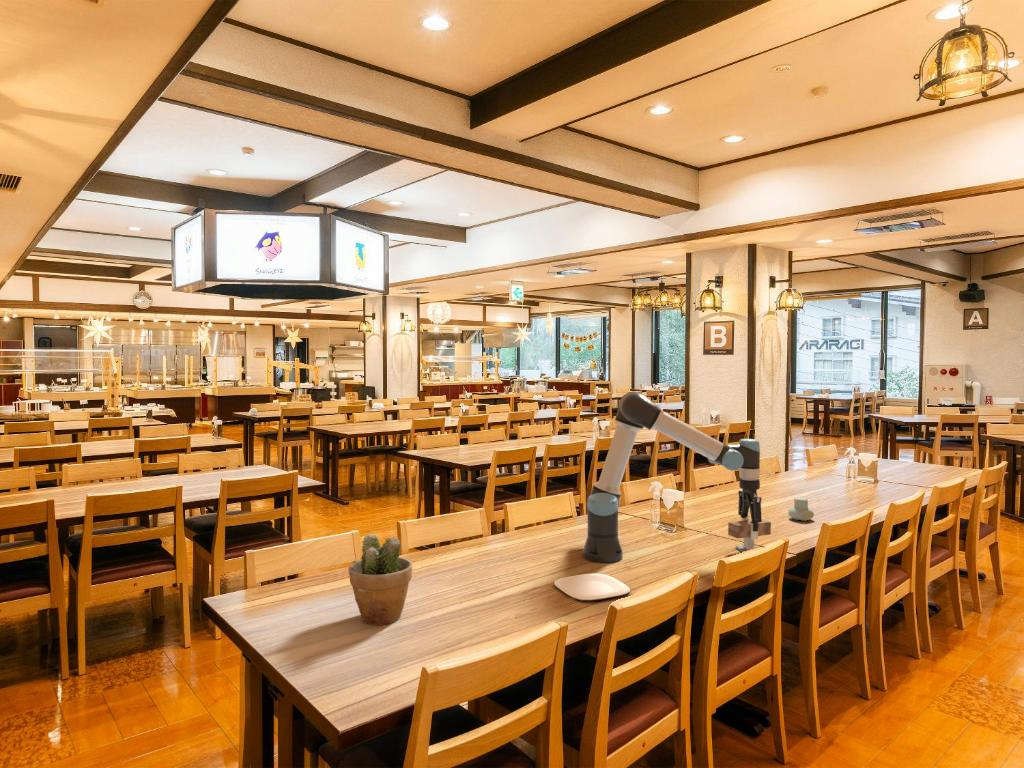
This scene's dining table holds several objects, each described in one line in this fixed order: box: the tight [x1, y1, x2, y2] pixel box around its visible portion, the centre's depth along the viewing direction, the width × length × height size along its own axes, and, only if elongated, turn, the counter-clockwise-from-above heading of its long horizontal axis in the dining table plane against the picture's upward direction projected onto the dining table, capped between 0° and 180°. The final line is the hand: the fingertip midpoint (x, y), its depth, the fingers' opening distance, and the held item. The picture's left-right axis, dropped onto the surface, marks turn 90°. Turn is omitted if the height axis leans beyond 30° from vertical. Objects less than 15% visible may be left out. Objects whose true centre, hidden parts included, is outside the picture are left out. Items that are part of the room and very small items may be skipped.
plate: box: [554, 573, 631, 602], centre depth 207 cm, size 22×22×2 cm
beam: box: [727, 518, 772, 539], centre depth 248 cm, size 16×6×5 cm, turn 110°
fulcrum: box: [735, 537, 757, 553], centre depth 248 cm, size 7×8×6 cm
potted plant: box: [348, 534, 413, 626], centre depth 184 cm, size 18×19×25 cm
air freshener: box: [788, 497, 814, 522], centre depth 297 cm, size 11×8×10 cm
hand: (749, 536), depth 248 cm, fingers closed on beam, 6 cm apart
